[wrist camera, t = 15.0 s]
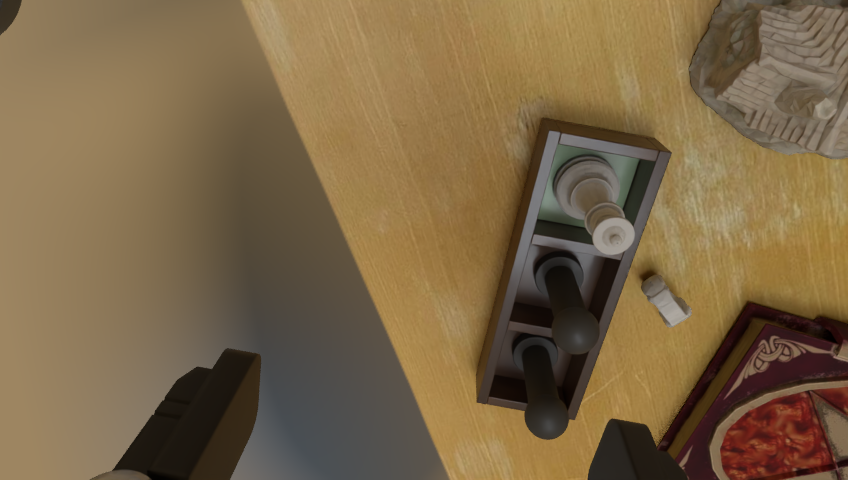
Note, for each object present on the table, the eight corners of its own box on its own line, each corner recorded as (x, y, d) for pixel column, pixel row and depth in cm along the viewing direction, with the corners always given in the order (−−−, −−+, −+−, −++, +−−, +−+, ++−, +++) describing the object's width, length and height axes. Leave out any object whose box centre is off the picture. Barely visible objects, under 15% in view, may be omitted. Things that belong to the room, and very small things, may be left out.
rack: (475, 374, 49) (476, 402, 46) (542, 117, 40) (548, 129, 37) (567, 391, 50) (574, 420, 46) (655, 138, 40) (672, 152, 37)
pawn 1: (528, 288, 45) (543, 362, 36) (540, 247, 43) (558, 314, 35) (574, 296, 45) (599, 372, 36) (587, 255, 44) (617, 324, 35)
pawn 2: (507, 362, 48) (516, 447, 39) (517, 326, 47) (529, 406, 38) (550, 370, 48) (568, 456, 39) (561, 334, 47) (583, 416, 38)
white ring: (631, 277, 45) (646, 304, 41) (655, 261, 44) (672, 287, 40) (656, 308, 46) (673, 337, 42) (681, 293, 45) (700, 321, 41)
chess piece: (560, 219, 42) (586, 286, 33) (545, 164, 41) (569, 218, 32) (621, 203, 41) (664, 267, 32) (608, 145, 40) (651, 196, 31)
